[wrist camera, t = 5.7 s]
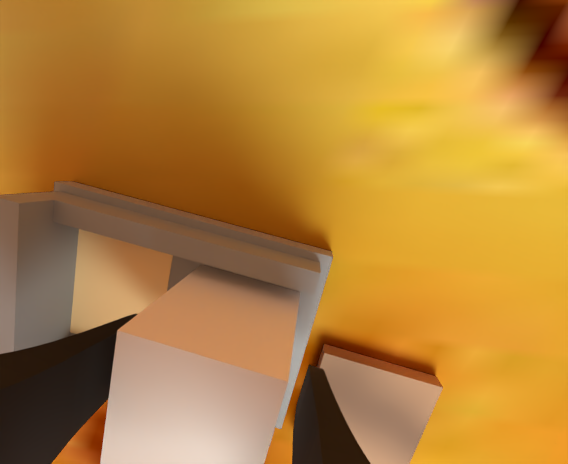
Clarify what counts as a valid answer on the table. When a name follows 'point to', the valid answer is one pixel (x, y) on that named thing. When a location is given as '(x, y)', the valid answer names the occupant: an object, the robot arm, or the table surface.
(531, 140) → the table surface
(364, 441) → the stand
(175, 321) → the block
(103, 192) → the tray
